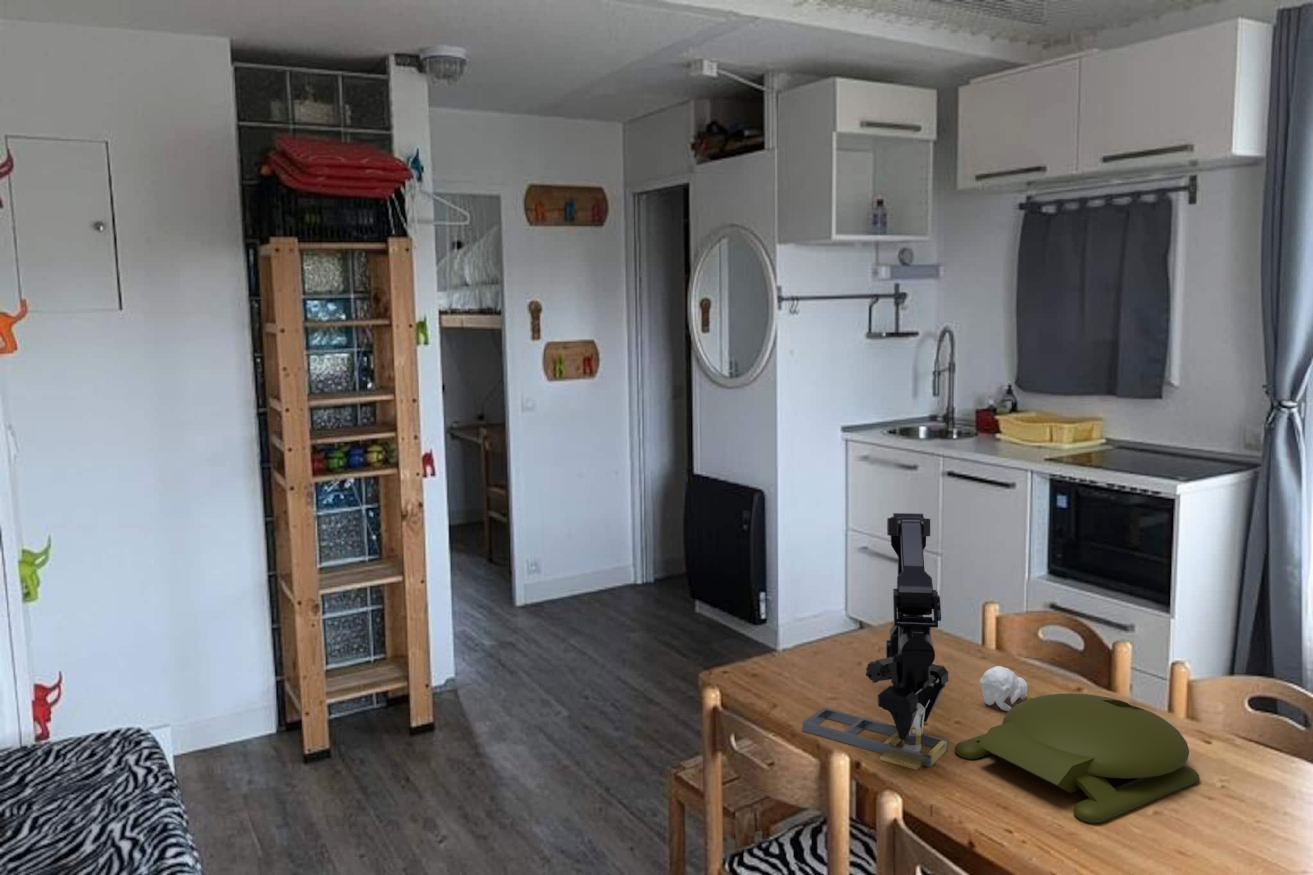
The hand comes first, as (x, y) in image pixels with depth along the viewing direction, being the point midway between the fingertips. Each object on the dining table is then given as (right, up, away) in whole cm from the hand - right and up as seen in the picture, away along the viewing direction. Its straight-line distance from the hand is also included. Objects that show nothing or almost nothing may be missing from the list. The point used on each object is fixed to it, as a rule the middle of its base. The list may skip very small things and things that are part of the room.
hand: (913, 730), depth 179 cm
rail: (-6, -3, +5) cm, 9 cm away
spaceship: (+29, -5, -5) cm, 30 cm away
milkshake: (0, -4, +1) cm, 4 cm away
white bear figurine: (+25, -1, +20) cm, 32 cm away
